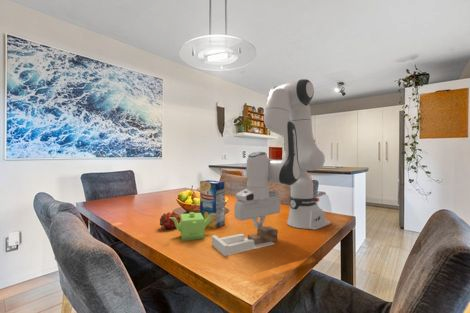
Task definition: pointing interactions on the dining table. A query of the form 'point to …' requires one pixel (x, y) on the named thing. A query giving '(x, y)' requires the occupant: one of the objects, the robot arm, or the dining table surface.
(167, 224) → the dark red lumpy cluster
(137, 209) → the dining table surface
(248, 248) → the shallow white tray
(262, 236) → the block
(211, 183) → the beverage box
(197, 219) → the kettle
